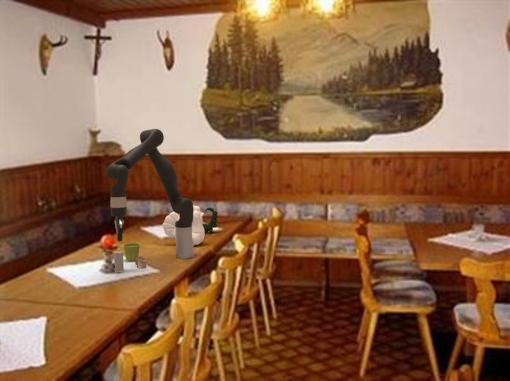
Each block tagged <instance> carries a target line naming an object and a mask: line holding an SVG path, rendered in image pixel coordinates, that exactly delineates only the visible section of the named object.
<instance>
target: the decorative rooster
mask: <svg viewBox="0 0 510 381" xmlns="http://www.w3.org/2000/svg"><path fill="white" fill-rule="evenodd" d="M193 208H194V211H193V222H192V240H193V245H194V246H197V245H200V244H201V243H202V242H203V241H204V238H205V235H206V234H205V233H204V231H205V230H204V228H203V225H202V224H204V223H203V216H204V215H205V213H204V212H202V211H201V207H200V206H199V205H194V204H193ZM179 218H180V214H177V213H175V212H174V211H172V212H170V213H169V215H167V216H166V217H165V219H164V220H163V221H164V222H163V223H162V228H163V231H164V234H165V235H166V236H168V237H169V238H170V239H175V240H176V234H175V222H176V221H178V220H179Z"/></svg>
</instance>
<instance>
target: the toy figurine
mask: <svg viewBox="0 0 510 381" xmlns="http://www.w3.org/2000/svg"><path fill="white" fill-rule="evenodd" d="M207 211H210V212H211V213H212V215H211V219H210V222H209V223H203V224H202V225H203V228H204V230H205V231H204V233H205V235H206V233H213V231H214V228H215V229H216V228H217V227H218V224H217V223H218V218H219V216H218V215H219V212H218V211H217V210H215V209H214V207H206V209H205V212H207Z"/></svg>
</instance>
